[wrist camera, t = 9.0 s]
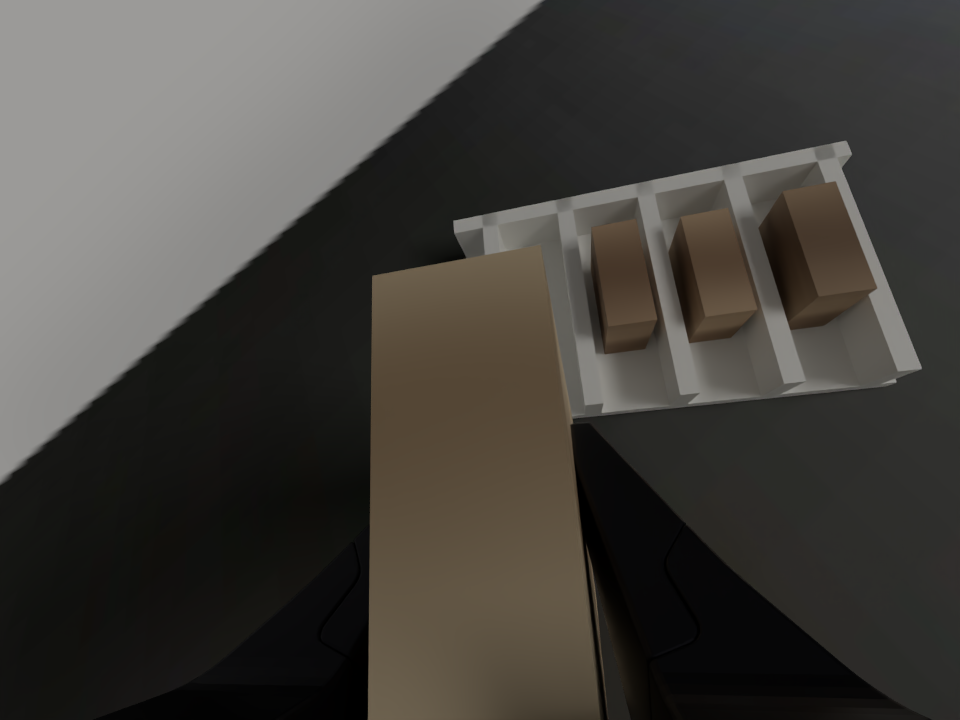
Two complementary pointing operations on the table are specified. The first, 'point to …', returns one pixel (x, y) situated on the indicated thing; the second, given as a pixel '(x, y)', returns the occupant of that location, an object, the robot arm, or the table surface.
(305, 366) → the table surface
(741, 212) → the offcut rack
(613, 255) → the walnut offcut
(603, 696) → the oak board
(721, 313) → the walnut offcut
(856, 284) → the walnut offcut
